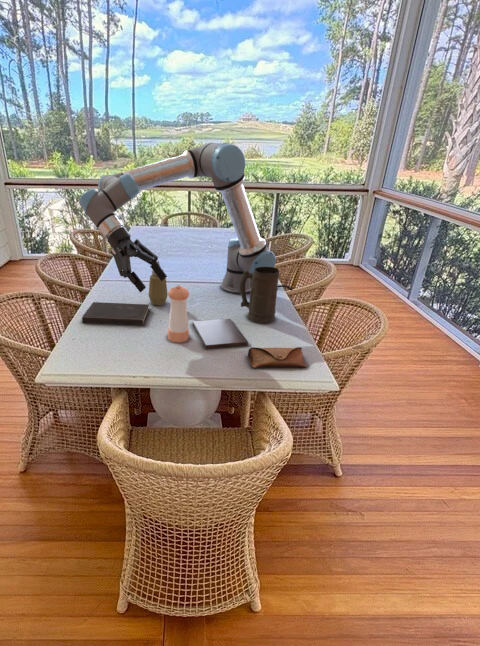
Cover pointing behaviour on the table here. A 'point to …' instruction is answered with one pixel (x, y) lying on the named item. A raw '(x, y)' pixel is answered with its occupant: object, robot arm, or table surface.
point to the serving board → (219, 333)
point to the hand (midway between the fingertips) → (154, 284)
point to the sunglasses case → (276, 357)
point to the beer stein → (261, 294)
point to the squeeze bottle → (157, 289)
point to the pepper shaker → (178, 315)
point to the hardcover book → (116, 313)
